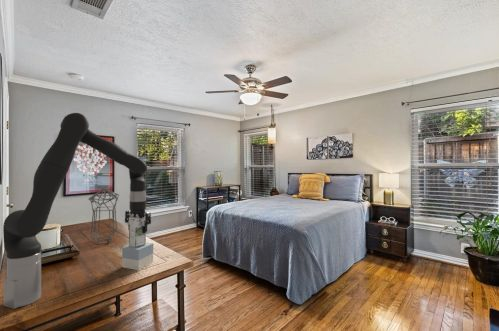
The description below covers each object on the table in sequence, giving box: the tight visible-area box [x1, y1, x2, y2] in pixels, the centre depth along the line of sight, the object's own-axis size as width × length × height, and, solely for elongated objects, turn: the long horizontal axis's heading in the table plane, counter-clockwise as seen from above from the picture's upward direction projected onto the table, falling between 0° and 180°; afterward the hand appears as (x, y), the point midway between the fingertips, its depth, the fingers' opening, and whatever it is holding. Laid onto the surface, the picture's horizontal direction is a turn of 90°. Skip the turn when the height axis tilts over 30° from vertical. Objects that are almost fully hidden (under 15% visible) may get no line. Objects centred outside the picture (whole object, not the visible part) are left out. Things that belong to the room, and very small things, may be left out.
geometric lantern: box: [88, 187, 120, 245], centre depth 154 cm, size 16×16×35 cm
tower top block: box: [121, 241, 154, 260], centre depth 120 cm, size 10×10×5 cm
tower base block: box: [121, 252, 154, 271], centre depth 121 cm, size 10×10×5 cm
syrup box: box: [128, 217, 147, 247], centre depth 120 cm, size 6×6×14 cm
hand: (137, 232), depth 120 cm, fingers open, 8 cm apart
